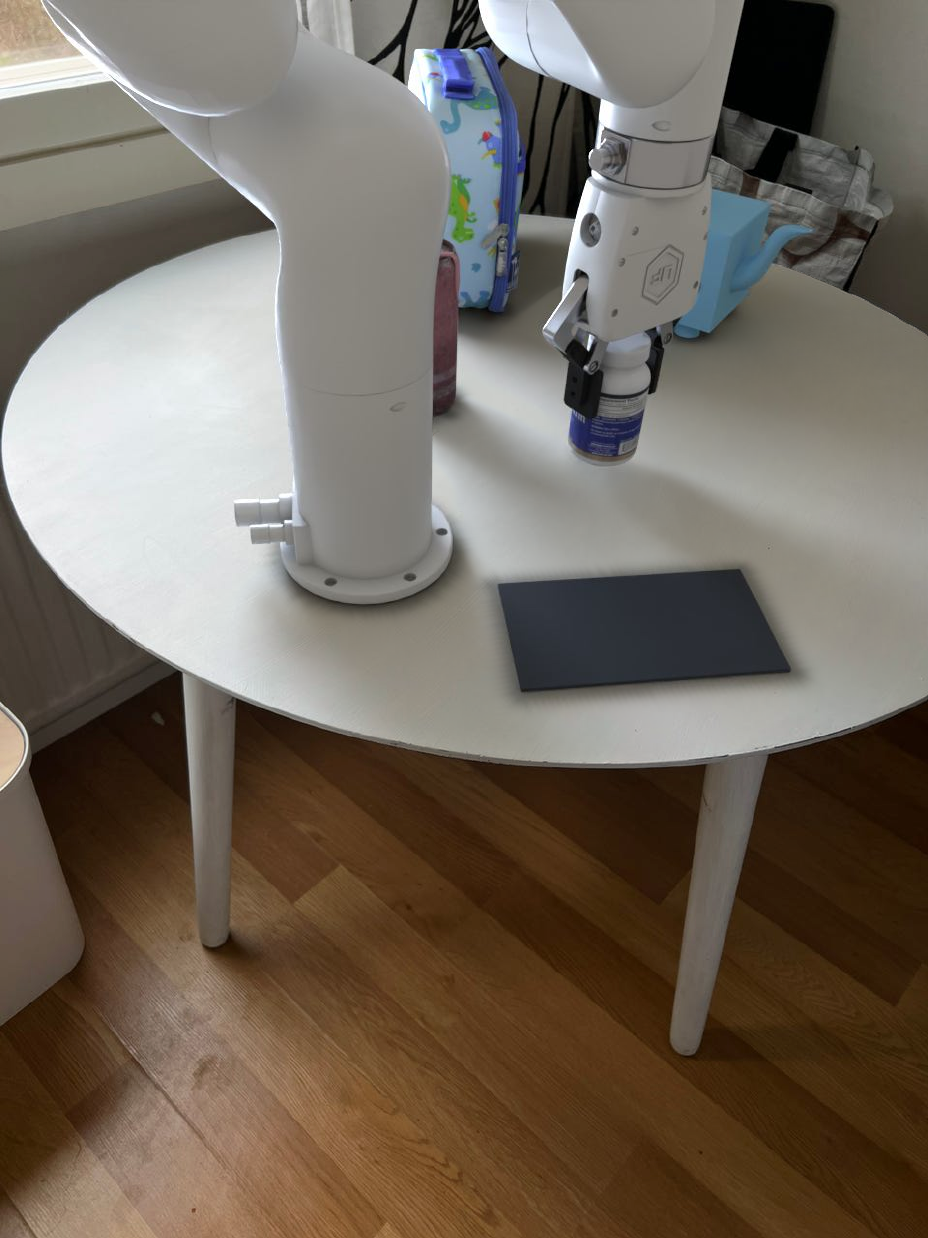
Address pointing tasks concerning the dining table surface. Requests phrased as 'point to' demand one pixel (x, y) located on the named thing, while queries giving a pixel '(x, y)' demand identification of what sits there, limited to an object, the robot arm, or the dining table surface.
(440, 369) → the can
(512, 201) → the lunch box
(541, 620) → the mat
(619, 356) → the pill bottle
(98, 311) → the dining table surface
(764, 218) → the teapot
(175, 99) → the robot arm
